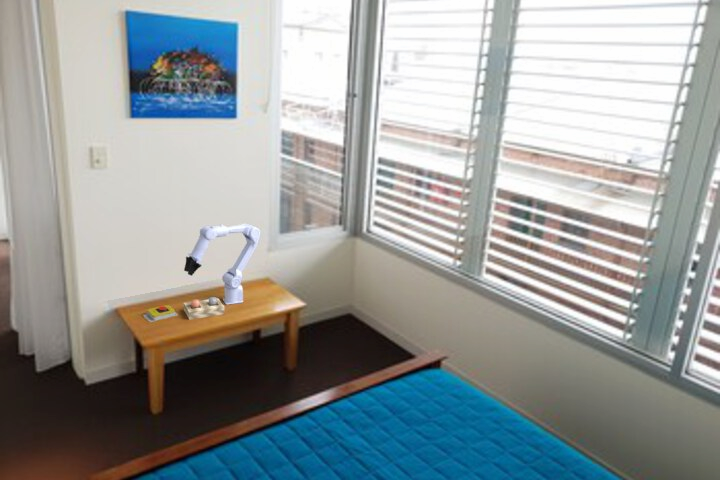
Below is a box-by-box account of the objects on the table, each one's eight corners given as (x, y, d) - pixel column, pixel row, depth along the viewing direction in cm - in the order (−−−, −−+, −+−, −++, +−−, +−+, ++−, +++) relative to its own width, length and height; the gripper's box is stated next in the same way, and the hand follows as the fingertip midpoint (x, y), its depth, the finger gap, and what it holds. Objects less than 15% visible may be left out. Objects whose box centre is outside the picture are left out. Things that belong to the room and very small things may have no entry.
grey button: (215, 303, 298) (215, 296, 297) (217, 306, 295) (217, 299, 294) (207, 304, 296) (207, 297, 295) (209, 307, 293) (209, 300, 292)
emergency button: (178, 308, 288) (149, 315, 278) (178, 316, 289) (149, 323, 280) (171, 301, 294) (142, 308, 285) (171, 309, 296) (142, 316, 286)
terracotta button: (198, 305, 294) (198, 298, 293) (200, 308, 291) (200, 301, 289) (190, 307, 292) (190, 299, 291) (192, 310, 289) (192, 303, 287)
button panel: (218, 304, 304) (217, 298, 302) (224, 313, 294) (224, 307, 293) (183, 309, 295) (183, 302, 294) (189, 319, 285) (189, 312, 284)
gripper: (189, 243, 291) (177, 266, 290) (196, 248, 279) (184, 273, 278) (201, 248, 295) (189, 271, 294) (209, 254, 283) (197, 278, 282)
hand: (187, 273), depth 286 cm, fingers open, 7 cm apart
